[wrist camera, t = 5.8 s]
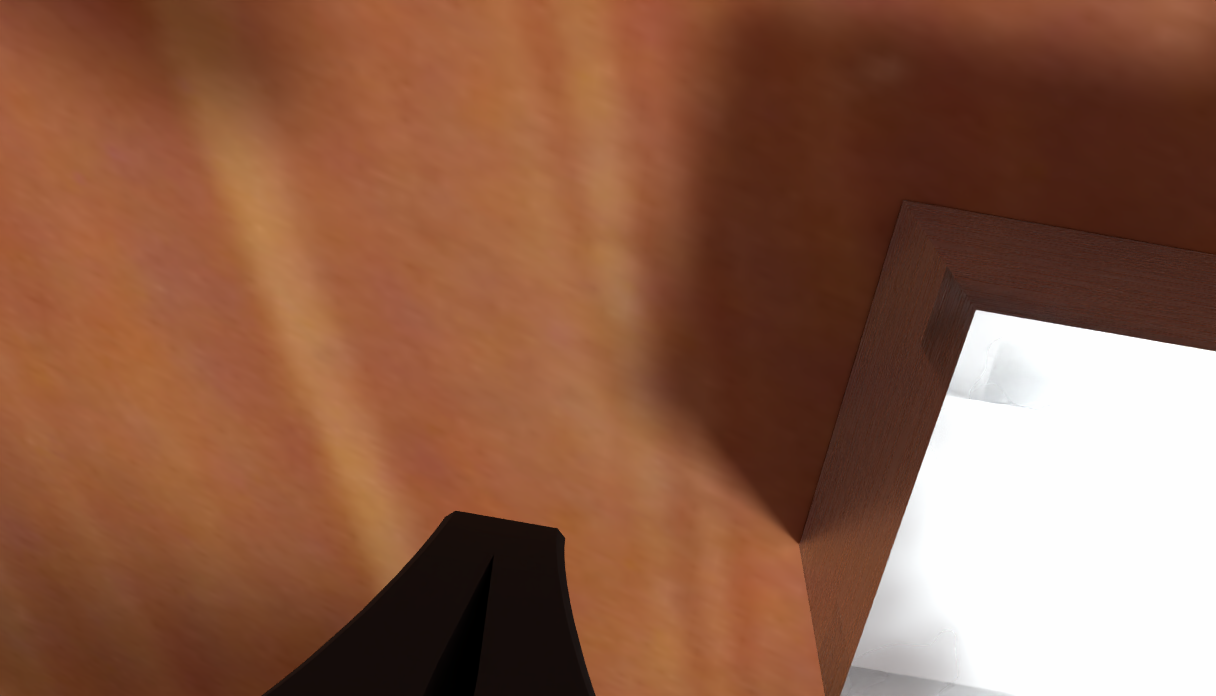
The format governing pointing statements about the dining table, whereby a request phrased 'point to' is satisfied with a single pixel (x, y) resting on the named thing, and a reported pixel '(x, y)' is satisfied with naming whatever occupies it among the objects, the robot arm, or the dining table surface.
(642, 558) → the dining table surface
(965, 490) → the block
